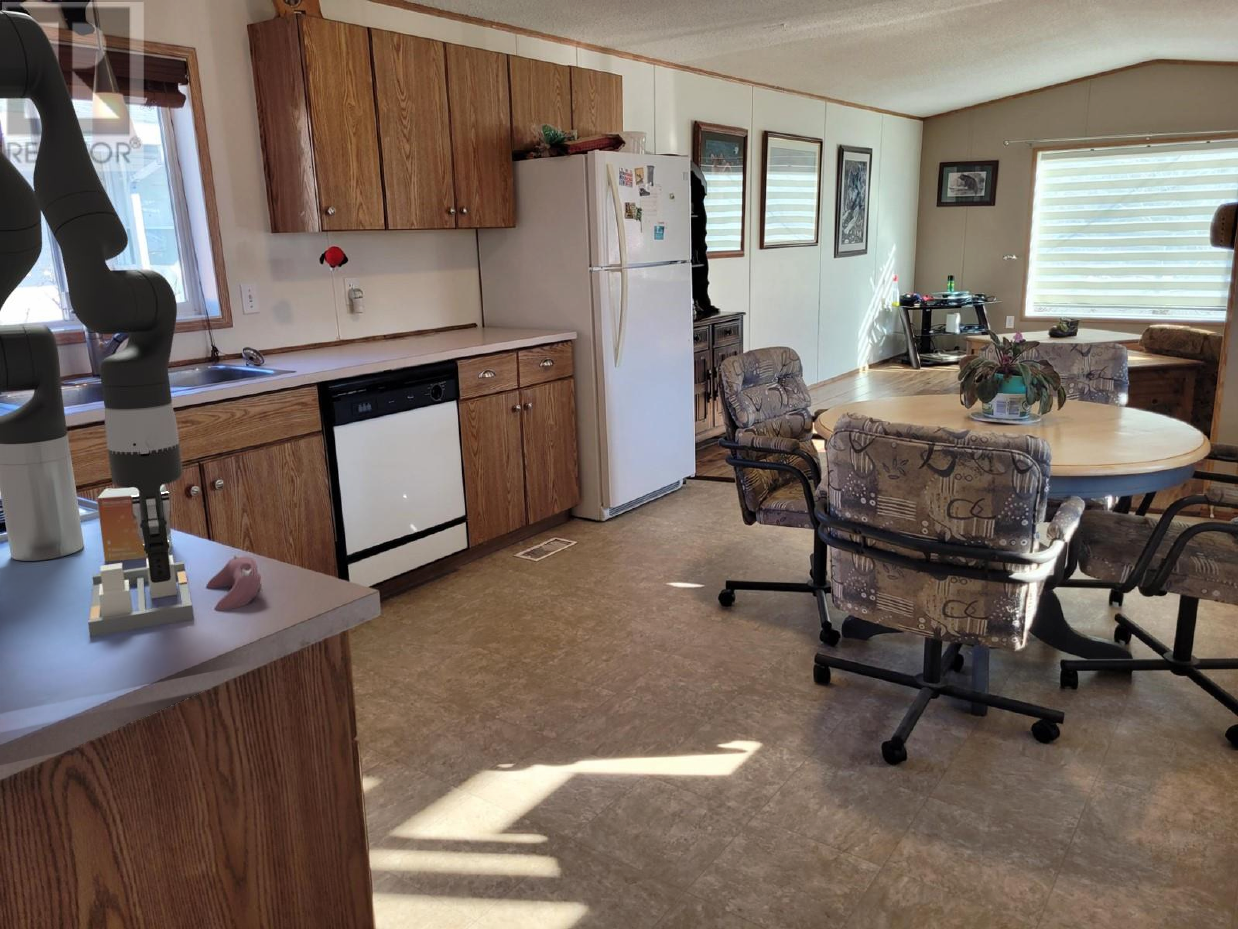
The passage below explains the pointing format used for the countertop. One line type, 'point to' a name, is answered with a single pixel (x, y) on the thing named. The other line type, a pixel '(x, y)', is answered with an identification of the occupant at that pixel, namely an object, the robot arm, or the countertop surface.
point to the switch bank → (140, 605)
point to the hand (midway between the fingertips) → (161, 580)
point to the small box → (121, 525)
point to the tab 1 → (114, 591)
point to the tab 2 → (166, 586)
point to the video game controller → (237, 582)
